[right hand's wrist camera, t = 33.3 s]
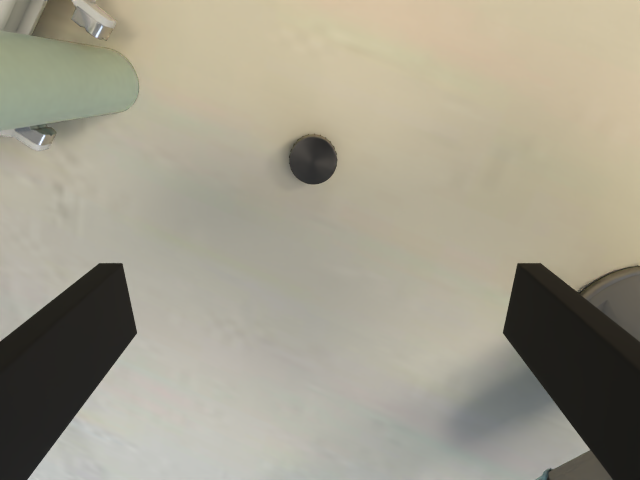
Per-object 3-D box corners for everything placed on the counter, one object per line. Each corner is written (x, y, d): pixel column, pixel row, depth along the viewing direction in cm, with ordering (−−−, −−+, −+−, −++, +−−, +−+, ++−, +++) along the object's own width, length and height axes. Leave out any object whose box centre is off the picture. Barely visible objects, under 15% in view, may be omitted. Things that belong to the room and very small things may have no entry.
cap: (324, 187, 36) (324, 192, 34) (282, 168, 35) (281, 173, 34) (344, 146, 35) (345, 149, 33) (301, 125, 34) (300, 127, 32)
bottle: (64, 65, 32) (-439, 30, 11) (114, 35, 31) (-318, -65, 10) (102, 122, 34) (-262, 192, 12) (151, 96, 33) (-148, 123, 12)
